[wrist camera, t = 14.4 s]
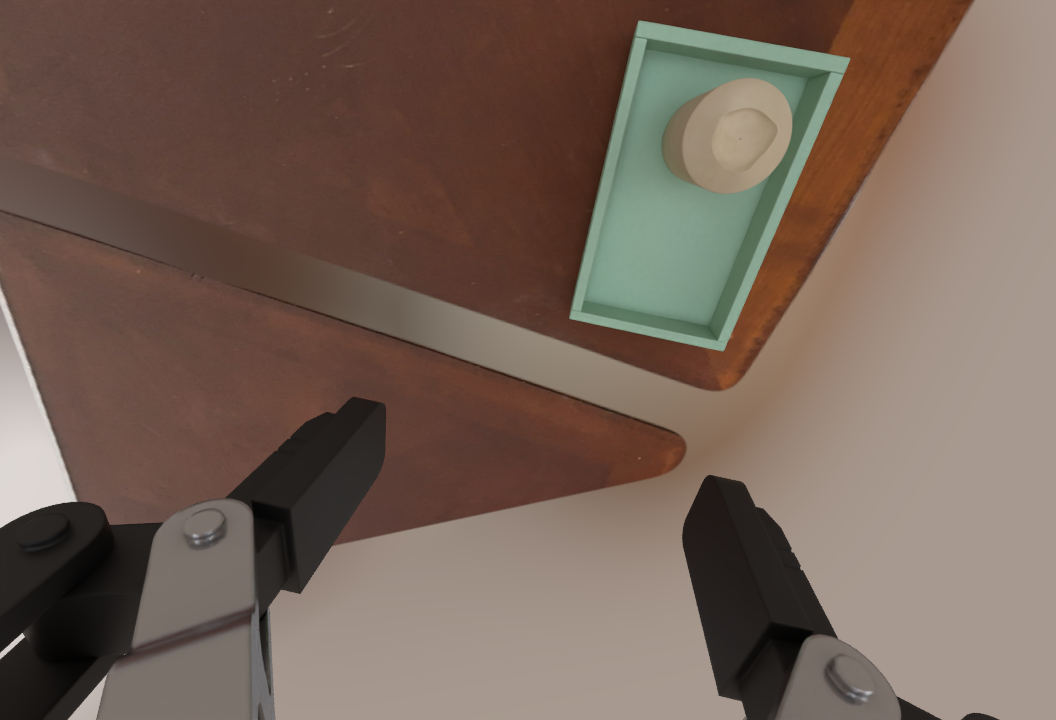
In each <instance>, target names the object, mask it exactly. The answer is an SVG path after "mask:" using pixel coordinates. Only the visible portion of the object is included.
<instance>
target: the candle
mask: <svg viewBox="0 0 1056 720" xmlns="http://www.w3.org/2000/svg"><path fill="white" fill-rule="evenodd" d="M791 134H792V114H791V110H790V107H789V104H788V102H787V100H786V98H785V96H784V95H783V94H782V93H781V91H780V90H779V89H777V88H776V87H775V86H774V85H772V84H770V83H769V82H766V81H764V80H761V79H756V78H742V79H736V80H732V81H730V82H727V83H724V84H722V85H720V86H718V87H716V88H714V89H712V90H710V91H707V92H705V93H703V94H701V95H699V96H697V97H695V98H693V99H691V100H689V101H688V102H686V103H685V104H683V105H682V106H681V107H680V108H679V109H678V110H677V111H676V112H675V113H674V114H673V115H672V117H671V118H670V120H669V122H668V123H667V126H666V128H665V131H664V134H663V139H662V153H663V158H664V161H665V163H666V165H667V167H668V168H669V170H670V171H671V172H672V173H673V174H674V175H675V176H677V177H678V178H680V179H682V180H684V181H686V182H689V183H691V184H694V185H696V186H699V187H701V188H704V189H706V190H709V191H711V192H715V193H721V194H731V193H737V192H741V191H744V190H747V189H749V188H751V187H753V186H755V185H757V184H758V183H760V182H761V181H763V180H764V179H765V178H766V177H768V176H769V175H770V174H771V173H772V172H773V171H774V169H775V168H776V167H777V166H778V164H779V163H780V162H781V160H782V158H783V156H784V155H785V153H786V150H787V148H788V146H789V142H790V139H791Z"/></svg>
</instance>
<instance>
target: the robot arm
mask: <svg viewBox="0 0 1056 720" xmlns="http://www.w3.org/2000/svg"><path fill="white" fill-rule="evenodd" d="M385 435H386V407H385V405H384V403H380V402H376V401H371V400H366V399H362V398H357V397H352V398H351V399H349V400H348V401H347V402H346V403H345V404H344V405H343V406H342V407H341V408H340V410H339V411H338V412H337V413H336V414H333V413H329V412H326V413H324V414H321V415H319V416H317V417H315V418H313V419H311V420H309V421H307V422H305V423H304V424H303V425H302V426H301V427H300V428H299V429H298V430H297V431H296V432H295V433H294V434H293V435H292V436H291V438H290V439H287V440H286V441H285V442H284V443H283V444H282V445H281V446H280V447H279V448H278V451H275V452H274V453H273V454H271V455H270V456H269V457H268V458H267V459H266V460H265V461H264V462H263V463H262V464H261V465H260V466H259V467H258V468H257V469H256V470H255V471H253V472H252V473H251V474H250V475H249V476H248V477H247V478H246V479H245V480H244V481H243V482H242V483H241V484H240V485H239V486H238V487H236V488H235V489H234V490H233V491H232V492H231V493H230V494H229V495H228V496H227V497H226V498H219V499H211V500H206V501H202V502H199V503H196V504H193V505H191V506H189V507H186V508H184V509H182V510H181V511H179V512H177V513H176V514H174V515H173V516H171V517H170V518H169V519H168V520H167V521H165V522H163V523H144V524H123V525H109V522H108V520H107V517H106V514H105V512H104V510H103V509H102V508H101V507H99V506H97V505H95V504H92V503H87V502H69V503H61V504H56V505H52V506H48V507H45V508H41V509H39V510H36V511H33V512H30V513H28V514H26V515H23V516H21V517H19V518H17V519H15V520H13V521H11V522H10V523H8V524H6V525H5V526H3V527H2V528H0V652H1V651H2V650H4V649H5V648H6V647H7V646H8V645H9V644H10V643H11V642H12V641H14V639H16V638H17V637H18V636H19V635H20V634H21V633H23V634H24V636H25V638H23V639H22V640H21V641H20V642H19V643H18V644H17V645H16V646H15V647H14V648H13V649H11V650H10V651H9V652H8V653H7V654H6V655H5V656H4V657H3V658H1V659H0V720H68V718H69V717H70V716H71V715H72V714H73V712H74V711H75V710H76V709H77V708H78V707H79V706H80V705H81V703H82V702H83V701H84V700H85V699H86V698H87V696H88V695H89V694H90V693H91V692H92V691H93V690H94V688H95V687H96V686H97V685H98V684H99V683H100V681H101V680H102V679H103V678H104V677H105V676H106V675H107V677H106V681H105V685H104V689H103V693H102V697H101V702H100V706H99V710H98V714H97V719H96V720H275V710H274V694H273V674H272V673H273V672H272V652H271V632H270V611H269V606H270V604H271V603H272V601H273V600H274V598H275V597H276V596H277V594H278V593H279V592H280V590H286V591H290V592H295V593H298V594H300V593H301V592H302V591H303V589H304V587H305V586H306V584H307V583H308V581H309V580H310V578H311V577H312V575H313V574H314V572H315V571H316V569H317V568H318V566H319V565H320V563H321V562H322V560H323V559H324V557H325V555H326V554H327V552H328V551H329V549H330V548H331V546H332V545H333V543H334V542H335V540H336V539H337V537H338V536H339V534H340V533H341V531H342V530H343V528H344V527H345V525H346V524H347V522H348V521H349V519H350V518H351V516H352V515H353V513H354V511H355V510H356V508H357V507H358V505H359V504H360V502H361V501H362V499H363V498H364V496H365V495H366V493H367V492H368V490H369V489H370V487H371V486H372V484H373V483H374V481H375V480H376V478H377V476H378V475H379V473H380V470H381V468H382V465H383V461H384V457H385ZM682 540H683V548H684V552H685V557H686V561H687V565H688V569H689V573H690V577H691V582H692V585H693V590H694V594H695V598H696V602H697V606H698V611H699V614H700V619H701V623H702V627H703V631H704V636H705V640H706V644H707V648H708V652H709V656H710V660H711V665H712V669H713V673H714V677H715V681H716V685H717V690H718V694H719V696H722V697H727V698H731V699H735V700H740V701H742V703H743V707H744V710H745V714H746V717H745V718H744V719H743V720H941V719H939V718H937V717H935V716H934V715H932V714H930V713H928V712H926V711H924V710H922V709H920V708H918V707H916V706H914V705H912V704H911V703H909V702H907V701H905V700H903V699H901V698H899V697H897V696H896V695H895V693H894V691H893V689H892V687H891V686H890V684H889V683H888V681H887V680H886V678H885V677H884V676H883V674H882V673H881V672H880V671H879V670H878V669H877V667H876V666H875V665H874V664H873V663H872V662H871V661H870V660H868V659H867V658H866V657H865V656H864V655H863V654H861V653H860V652H859V651H858V650H856V649H855V648H853V647H851V646H850V645H849V644H847V643H845V642H843V641H841V640H839V639H838V638H837V636H836V634H835V632H834V630H833V628H832V626H831V624H830V622H829V620H828V618H827V616H826V614H825V612H824V610H823V609H822V606H821V605H820V603H819V601H818V599H817V597H816V595H815V593H814V591H813V589H812V587H811V585H810V583H809V581H808V579H807V577H806V575H805V574H804V572H803V570H800V564H799V562H798V560H797V558H796V556H795V554H794V553H792V552H791V549H792V548H791V546H790V544H789V543H788V541H787V539H786V537H785V535H784V533H783V531H782V529H781V527H780V526H779V525H778V524H777V523H776V522H775V521H774V520H773V519H772V518H771V517H770V515H768V513H767V512H766V511H765V510H764V509H763V508H758V507H755V504H754V502H753V500H752V498H751V496H750V494H749V492H748V490H747V488H746V486H745V484H744V483H742V482H740V481H736V480H731V479H726V478H722V477H717V476H713V475H708V476H707V477H706V478H705V479H704V481H703V483H702V485H701V487H700V489H699V491H698V494H697V496H696V498H695V500H694V502H693V504H692V506H691V509H690V511H689V513H688V515H687V517H686V519H685V523H684V527H683V534H682ZM124 654H125V655H124ZM107 673H108V674H107ZM961 720H998V719H996V718H994V717H991V716H989V715H985V714H981V713H971V714H968V715H966V716H965V717H964V718H963V719H961Z"/></svg>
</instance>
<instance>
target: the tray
mask: <svg viewBox="0 0 1056 720" xmlns="http://www.w3.org/2000/svg"><path fill="white" fill-rule="evenodd" d="M849 61H850V58H847V57H842V56H836V55H831V54H825V53H819V52H814V51H808V50H803V49H797V48H791V47H786V46H780V45H775V44H769V43H763V42H758V41H752V40H747V39H741V38H735V37H730V36H724V35H719V34H713V33H707V32H702V31H696V30H691V29H685V28H679V27H674V26H668V25H663V24H657V23H651V22H646V21H638V24H637V27H636V30H635V33H634V36H633V40H632V44H631V49H630V53H629V57H628V62H627V66H626V70H625V75H624V79H623V83H622V88H621V92H620V96H619V101H618V105H617V109H616V114H615V118H614V122H613V127H612V131H611V135H610V140H609V144H608V148H607V152H606V157H605V161H604V165H603V170H602V174H601V178H600V183H599V187H598V191H597V196H596V200H595V204H594V209H593V213H592V217H591V222H590V226H589V230H588V235H587V239H586V243H585V247H584V252H583V256H582V260H581V265H580V269H579V273H578V278H577V282H576V286H575V291H574V295H573V299H572V304H571V310H570V317H569V319H573V320H578V321H582V322H587V323H592V324H596V325H601V326H606V327H610V328H615V329H620V330H625V331H629V332H634V333H639V334H643V335H648V336H653V337H657V338H662V339H667V340H671V341H676V342H681V343H686V344H690V345H695V346H700V347H704V348H709V349H714V350H718V351H724V349H725V347H726V344H727V342H728V340H729V338H730V335H731V333H732V331H733V328H734V326H735V324H736V321H737V319H738V317H739V315H740V312H741V310H742V308H743V305H744V303H745V301H746V298H747V296H748V294H749V292H750V289H751V287H752V285H753V282H754V280H755V278H756V275H757V273H758V271H759V268H760V266H761V264H762V262H763V259H764V257H765V255H766V252H767V250H768V248H769V245H770V243H771V241H772V239H773V236H774V234H775V232H776V229H777V227H778V225H779V222H780V220H781V218H782V215H783V213H784V211H785V209H786V206H787V204H788V202H789V199H790V197H791V195H792V192H793V190H794V188H795V186H796V183H797V181H798V179H799V176H800V174H801V172H802V169H803V167H804V165H805V162H806V160H807V158H808V156H809V153H810V151H811V149H812V146H813V144H814V142H815V139H816V137H817V135H818V133H819V130H820V128H821V126H822V123H823V121H824V119H825V116H826V114H827V112H828V109H829V107H830V105H831V103H832V100H833V98H834V96H835V93H836V91H837V89H838V86H839V84H840V82H841V80H842V77H843V74H844V73H845V70H846V68H847V66H848V64H849ZM742 78H756V79H761V80H764V81H766V82H769V83H770V84H772V85H774V86H775V87H776V88H777V89H779V90H780V91H781V93H782V94H783V95H784V96H785V98H786V100H787V102H788V104H789V107H790V110H791V114H792V134H791V139H790V142H789V146H788V148H787V150H786V153H785V155H784V156H783V158H782V160H781V162H780V163H779V164H778V166H777V167H776V168H775V169H774V171H773V172H772V173H771V174H770V175H769V176H768V177H766V178H765V179H764V180H763V181H761V182H760V183H758V184H757V185H755V186H753V187H751V188H749V189H747V190H744V191H741V192H737V193H731V194H721V193H715V192H711V191H709V190H706V189H704V188H701V187H699V186H696V185H694V184H691V183H689V182H686V181H684V180H682V179H680V178H678V177H677V176H675V175H674V174H673V173H672V172H671V171H670V170H669V168H668V167H667V165H666V163H665V161H664V158H663V153H662V139H663V134H664V131H665V128H666V126H667V123H668V122H669V120H670V118H671V117H672V115H673V114H674V113H675V112H676V111H677V110H678V109H679V108H680V107H681V106H682V105H683V104H685V103H686V102H688V101H689V100H691V99H693V98H695V97H697V96H699V95H701V94H703V93H705V92H707V91H710V90H712V89H714V88H716V87H718V86H720V85H722V84H724V83H727V82H730V81H732V80H736V79H742Z"/></svg>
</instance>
